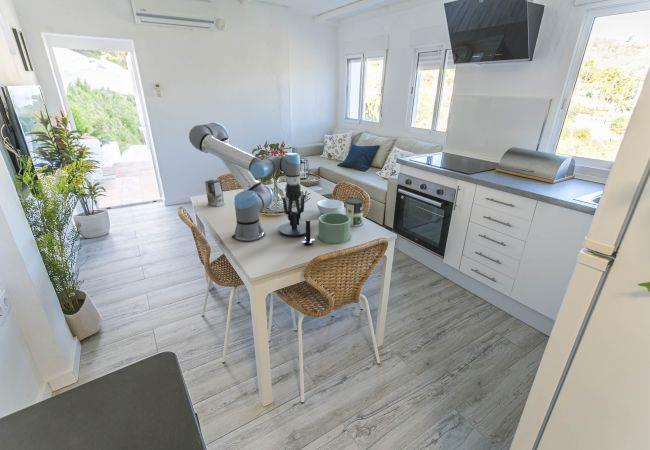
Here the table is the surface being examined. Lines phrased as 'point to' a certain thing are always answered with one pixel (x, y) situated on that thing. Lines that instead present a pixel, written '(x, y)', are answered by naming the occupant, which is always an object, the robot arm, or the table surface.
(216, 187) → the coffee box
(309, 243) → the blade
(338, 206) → the cereal bowl
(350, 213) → the coffee can
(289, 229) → the lid
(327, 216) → the bowl chamber
